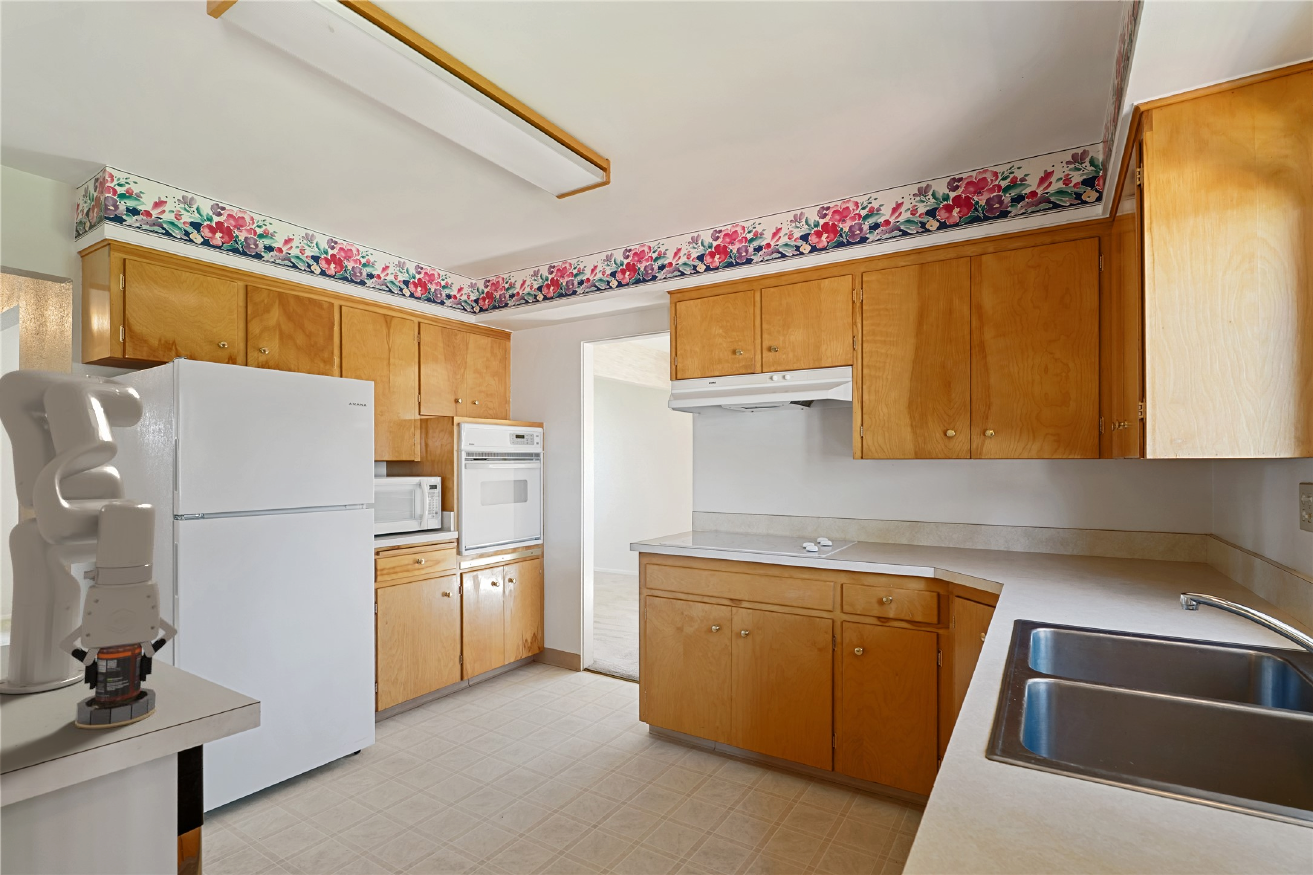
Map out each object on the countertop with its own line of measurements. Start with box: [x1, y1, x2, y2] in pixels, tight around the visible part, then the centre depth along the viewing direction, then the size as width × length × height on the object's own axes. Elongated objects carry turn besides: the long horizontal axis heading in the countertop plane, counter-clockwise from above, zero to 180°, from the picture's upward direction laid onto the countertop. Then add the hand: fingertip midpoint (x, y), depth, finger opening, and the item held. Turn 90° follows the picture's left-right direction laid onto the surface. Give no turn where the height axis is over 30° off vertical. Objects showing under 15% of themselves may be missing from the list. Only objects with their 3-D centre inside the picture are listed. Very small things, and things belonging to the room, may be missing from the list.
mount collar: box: [74, 687, 156, 730], centre depth 109 cm, size 10×10×3 cm
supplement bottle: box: [94, 643, 143, 703], centre depth 109 cm, size 6×6×11 cm
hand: (118, 682), depth 109 cm, fingers closed on supplement bottle, 6 cm apart
